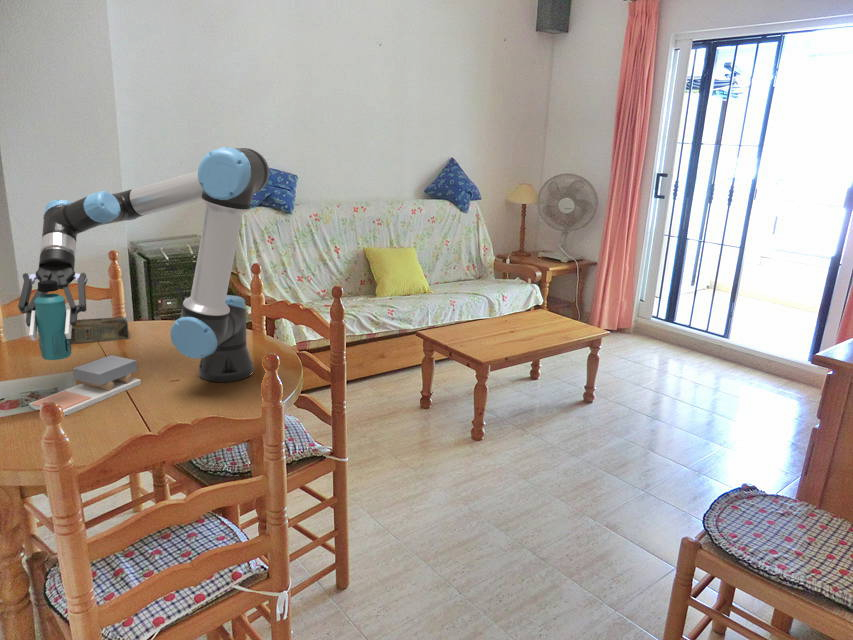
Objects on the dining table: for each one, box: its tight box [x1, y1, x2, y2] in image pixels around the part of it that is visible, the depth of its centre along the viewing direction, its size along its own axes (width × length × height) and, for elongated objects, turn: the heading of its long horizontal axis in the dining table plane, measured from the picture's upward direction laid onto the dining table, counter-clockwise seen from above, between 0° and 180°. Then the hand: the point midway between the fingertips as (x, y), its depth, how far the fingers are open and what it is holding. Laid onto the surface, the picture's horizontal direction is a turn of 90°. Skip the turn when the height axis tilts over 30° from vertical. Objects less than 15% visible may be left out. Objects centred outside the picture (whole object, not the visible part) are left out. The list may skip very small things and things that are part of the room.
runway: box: [28, 373, 142, 417], centre depth 158 cm, size 11×24×4 cm, turn 159°
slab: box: [72, 354, 138, 385], centre depth 162 cm, size 9×12×3 cm
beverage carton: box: [70, 316, 130, 345], centre depth 200 cm, size 8×19×7 cm, turn 119°
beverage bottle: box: [34, 280, 73, 361], centre depth 146 cm, size 6×7×20 cm
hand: (50, 336), depth 143 cm, fingers closed on beverage bottle, 6 cm apart
